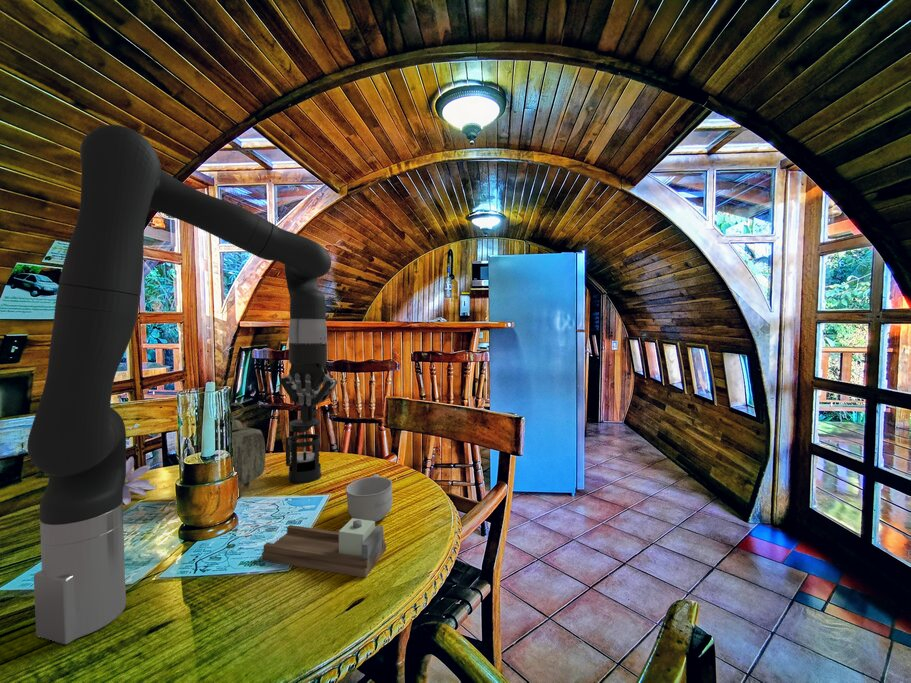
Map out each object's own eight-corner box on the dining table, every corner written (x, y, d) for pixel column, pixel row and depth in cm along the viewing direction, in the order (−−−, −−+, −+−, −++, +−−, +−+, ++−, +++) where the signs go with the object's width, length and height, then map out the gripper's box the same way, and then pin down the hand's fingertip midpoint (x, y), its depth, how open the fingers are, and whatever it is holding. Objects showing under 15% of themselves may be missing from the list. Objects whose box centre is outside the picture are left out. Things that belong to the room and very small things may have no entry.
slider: (363, 560, 73) (362, 530, 73) (338, 557, 74) (338, 527, 74) (375, 545, 78) (375, 517, 78) (352, 542, 79) (352, 514, 79)
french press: (329, 474, 120) (329, 399, 119) (309, 485, 111) (308, 405, 110) (298, 469, 124) (297, 397, 123) (276, 480, 115) (275, 402, 114)
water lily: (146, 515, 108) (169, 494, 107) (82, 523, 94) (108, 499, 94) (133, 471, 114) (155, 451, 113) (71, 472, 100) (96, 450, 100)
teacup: (382, 531, 87) (382, 496, 87) (337, 525, 89) (337, 491, 89) (402, 503, 101) (402, 472, 100) (363, 499, 103) (363, 469, 103)
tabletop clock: (248, 483, 113) (247, 397, 112) (269, 489, 109) (268, 400, 108) (195, 503, 100) (193, 406, 99) (216, 511, 96) (214, 410, 95)
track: (365, 577, 71) (365, 548, 71) (262, 560, 76) (261, 532, 76) (385, 550, 80) (385, 523, 80) (291, 536, 85) (291, 511, 85)
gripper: (268, 340, 80) (269, 424, 81) (325, 342, 77) (325, 429, 77) (293, 339, 87) (293, 416, 88) (345, 340, 84) (345, 420, 85)
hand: (308, 422), depth 83 cm, fingers closed
